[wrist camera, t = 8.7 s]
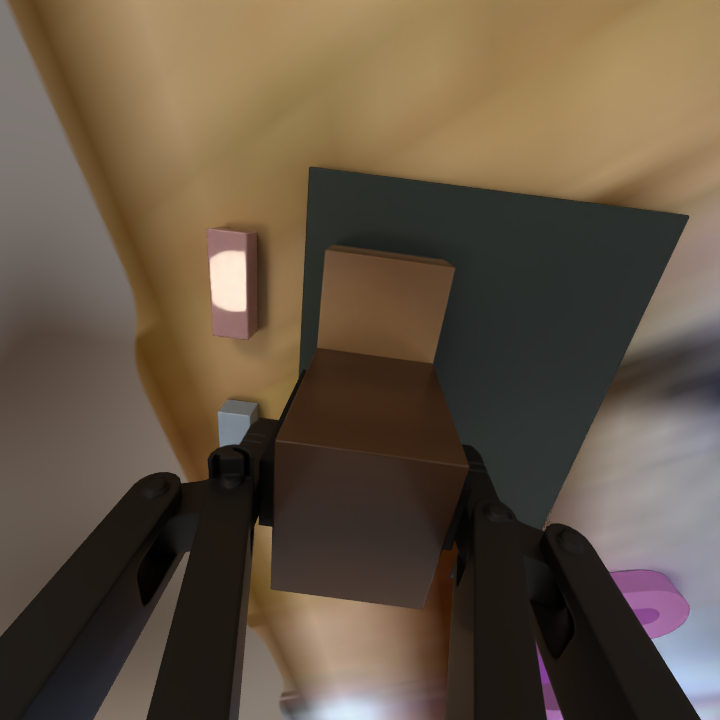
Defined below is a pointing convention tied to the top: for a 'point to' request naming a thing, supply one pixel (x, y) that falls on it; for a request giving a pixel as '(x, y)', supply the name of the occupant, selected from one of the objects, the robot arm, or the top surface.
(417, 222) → the chalkboard
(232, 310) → the pink chalk
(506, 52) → the top surface
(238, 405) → the blue chalk
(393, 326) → the eraser
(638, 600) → the bracket
